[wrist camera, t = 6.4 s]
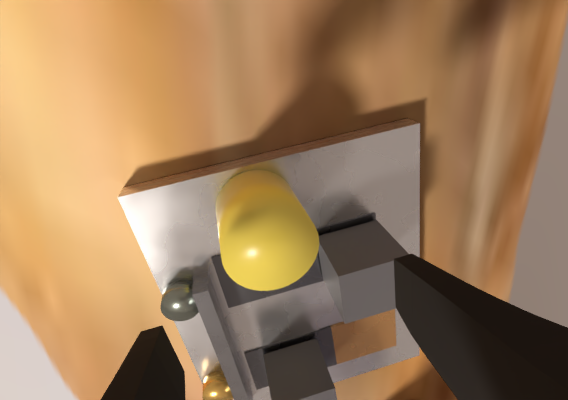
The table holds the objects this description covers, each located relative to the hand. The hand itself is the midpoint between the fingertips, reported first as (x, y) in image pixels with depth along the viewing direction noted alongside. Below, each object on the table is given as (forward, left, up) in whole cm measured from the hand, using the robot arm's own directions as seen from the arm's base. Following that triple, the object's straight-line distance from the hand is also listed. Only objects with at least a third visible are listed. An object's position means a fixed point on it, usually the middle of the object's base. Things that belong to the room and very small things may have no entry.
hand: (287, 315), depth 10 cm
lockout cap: (0, 0, -8) cm, 8 cm away
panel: (-7, -2, -9) cm, 11 cm away
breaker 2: (-4, -5, -7) cm, 9 cm away
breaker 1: (-12, 0, -7) cm, 14 cm away
